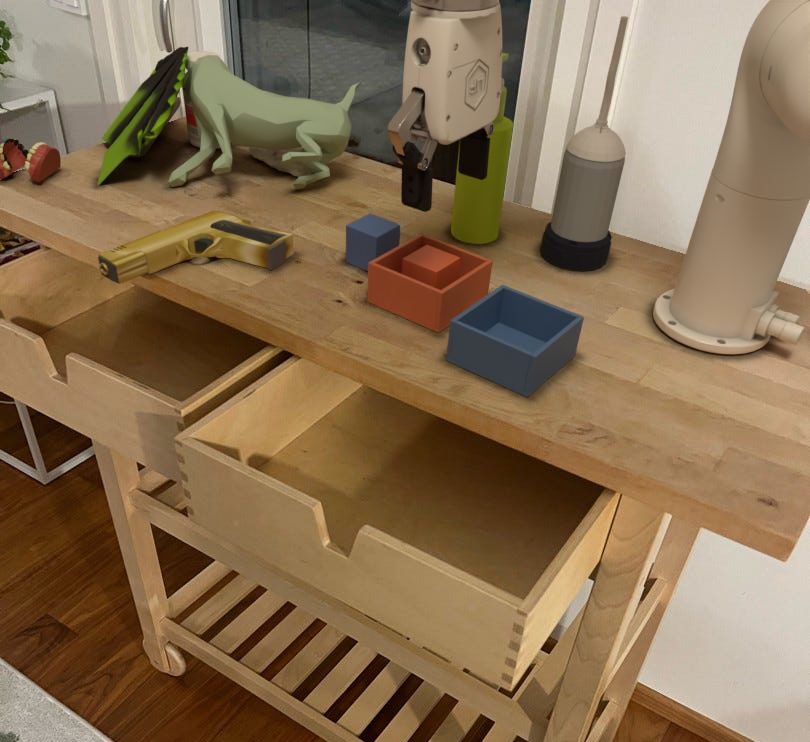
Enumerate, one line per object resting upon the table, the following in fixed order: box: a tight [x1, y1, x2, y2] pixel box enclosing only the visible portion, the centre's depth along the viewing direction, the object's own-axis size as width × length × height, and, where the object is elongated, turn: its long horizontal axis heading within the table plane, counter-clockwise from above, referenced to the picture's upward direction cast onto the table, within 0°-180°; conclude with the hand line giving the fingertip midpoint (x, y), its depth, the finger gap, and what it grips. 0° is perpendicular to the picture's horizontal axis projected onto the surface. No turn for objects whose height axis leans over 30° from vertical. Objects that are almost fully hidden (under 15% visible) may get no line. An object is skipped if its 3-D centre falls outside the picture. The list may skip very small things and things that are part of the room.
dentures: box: [0, 137, 62, 183], centre depth 106 cm, size 6×4×8 cm
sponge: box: [248, 147, 323, 178], centre depth 114 cm, size 12×5×4 cm
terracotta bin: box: [366, 233, 494, 334], centre depth 89 cm, size 10×10×4 cm
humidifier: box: [539, 15, 629, 272], centre depth 91 cm, size 8×8×25 cm
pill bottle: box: [181, 50, 233, 150], centre depth 114 cm, size 6×6×11 cm
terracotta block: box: [402, 245, 460, 290], centre depth 89 cm, size 4×4×4 cm
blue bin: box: [445, 284, 585, 398], centre depth 82 cm, size 10×10×4 cm
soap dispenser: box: [450, 52, 514, 245], centre depth 95 cm, size 6×7×20 cm
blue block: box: [345, 212, 401, 272], centre depth 94 cm, size 4×4×4 cm
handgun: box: [97, 210, 295, 285], centre depth 92 cm, size 2×19×12 cm
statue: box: [167, 55, 362, 190], centre depth 109 cm, size 27×13×20 cm
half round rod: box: [129, 96, 182, 158], centre depth 119 cm, size 4×20×2 cm, turn 179°
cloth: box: [97, 46, 189, 187], centre depth 109 cm, size 20×22×2 cm
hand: (445, 191), depth 82 cm, fingers open, 9 cm apart
